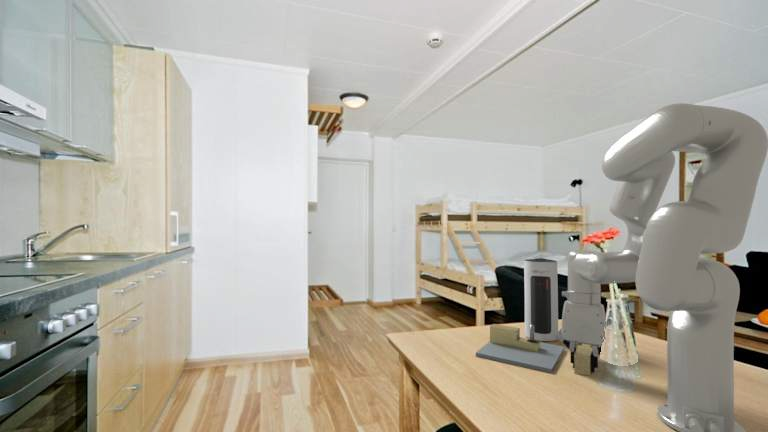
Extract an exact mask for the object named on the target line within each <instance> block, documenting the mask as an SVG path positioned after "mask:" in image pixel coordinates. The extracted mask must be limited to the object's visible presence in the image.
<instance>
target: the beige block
mask: <svg viewBox="0 0 768 432" xmlns="http://www.w3.org/2000/svg"><path fill="white" fill-rule="evenodd" d="M577 344H578V345H577V348H576V351H575V353H574V368H573V370H574V371H573V372H574V374H576V375H579V376H584V377H591V375H592V373H593V372H592V371H591V356H592V352H593V350H592V345H589V344H583V343H578V342H577Z"/></svg>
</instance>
